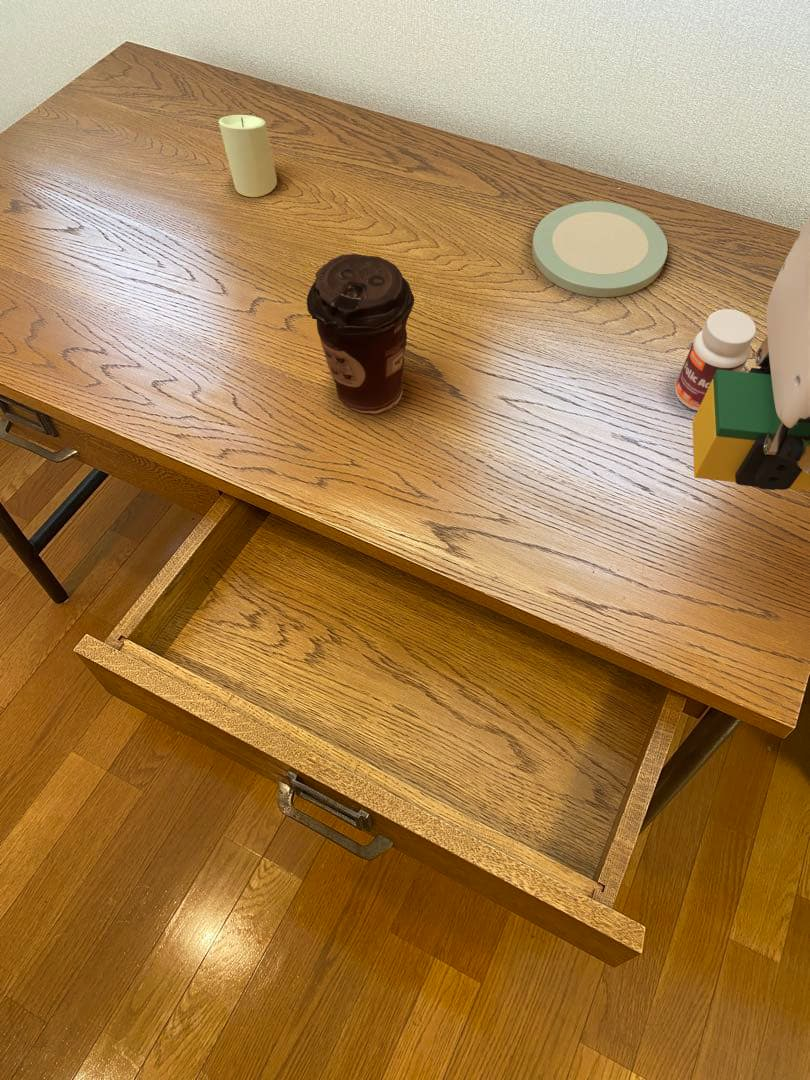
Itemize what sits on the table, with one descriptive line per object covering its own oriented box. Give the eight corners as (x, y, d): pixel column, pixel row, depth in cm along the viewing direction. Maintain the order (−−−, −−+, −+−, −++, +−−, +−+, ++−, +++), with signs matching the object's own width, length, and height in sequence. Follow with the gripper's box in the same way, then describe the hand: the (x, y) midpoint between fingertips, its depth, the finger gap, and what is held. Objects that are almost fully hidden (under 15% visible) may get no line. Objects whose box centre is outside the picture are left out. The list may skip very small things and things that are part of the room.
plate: (666, 216, 82) (669, 206, 81) (663, 304, 75) (667, 294, 74) (538, 204, 84) (540, 194, 83) (524, 289, 77) (526, 279, 76)
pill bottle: (663, 395, 69) (690, 327, 62) (691, 366, 71) (721, 297, 63) (709, 422, 67) (742, 355, 60) (736, 391, 69) (772, 323, 62)
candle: (247, 168, 89) (231, 98, 82) (284, 176, 88) (271, 106, 81) (227, 192, 87) (208, 123, 80) (265, 201, 86) (250, 131, 79)
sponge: (810, 434, 48) (847, 381, 44) (817, 492, 46) (857, 442, 42) (691, 421, 49) (716, 368, 45) (693, 478, 47) (720, 427, 43)
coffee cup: (350, 439, 68) (334, 332, 56) (307, 382, 71) (284, 271, 60) (431, 398, 70) (430, 287, 59) (385, 345, 73) (376, 231, 62)
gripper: (1071, 337, 27) (835, 573, 43) (972, 81, 35) (805, 357, 51) (852, 317, 28) (700, 556, 43) (806, 71, 36) (693, 346, 52)
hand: (758, 447), depth 47 cm, fingers closed on sponge, 4 cm apart
